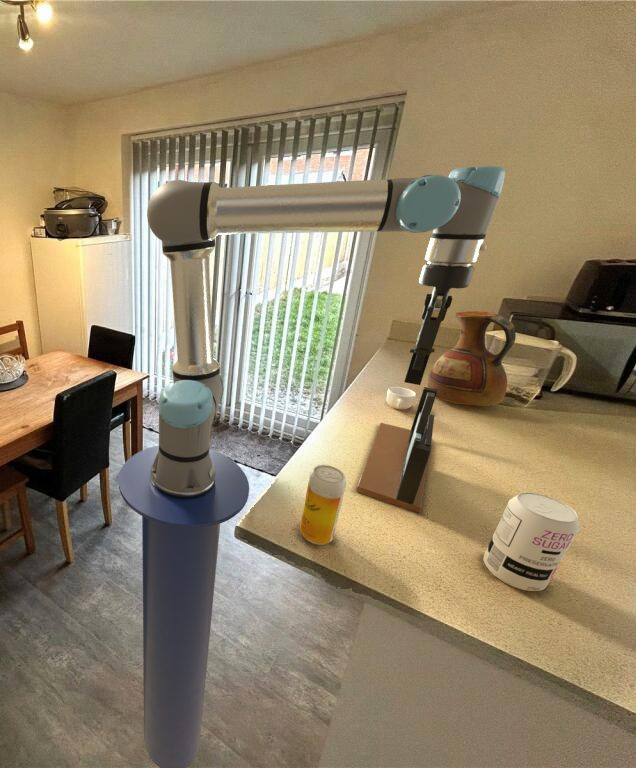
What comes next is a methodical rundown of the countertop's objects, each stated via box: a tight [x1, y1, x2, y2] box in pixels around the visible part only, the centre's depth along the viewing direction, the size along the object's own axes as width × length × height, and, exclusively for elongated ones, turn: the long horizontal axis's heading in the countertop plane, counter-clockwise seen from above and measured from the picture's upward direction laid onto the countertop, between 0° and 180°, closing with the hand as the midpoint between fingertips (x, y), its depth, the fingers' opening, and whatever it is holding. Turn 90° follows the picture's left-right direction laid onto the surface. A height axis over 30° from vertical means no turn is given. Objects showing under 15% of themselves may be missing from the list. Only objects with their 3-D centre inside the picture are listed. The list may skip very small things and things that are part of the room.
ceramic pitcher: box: [427, 310, 517, 407], centre depth 125 cm, size 20×20×30 cm
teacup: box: [386, 386, 417, 410], centre depth 126 cm, size 10×8×5 cm
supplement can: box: [483, 491, 581, 592], centre depth 66 cm, size 8×8×15 cm
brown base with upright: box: [355, 386, 438, 514], centre depth 97 cm, size 12×37×15 cm, turn 142°
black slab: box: [402, 392, 435, 478], centre depth 89 cm, size 1×16×20 cm, turn 142°
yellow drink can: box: [299, 464, 347, 546], centre depth 75 cm, size 6×6×15 cm
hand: (412, 382), depth 80 cm, fingers closed
